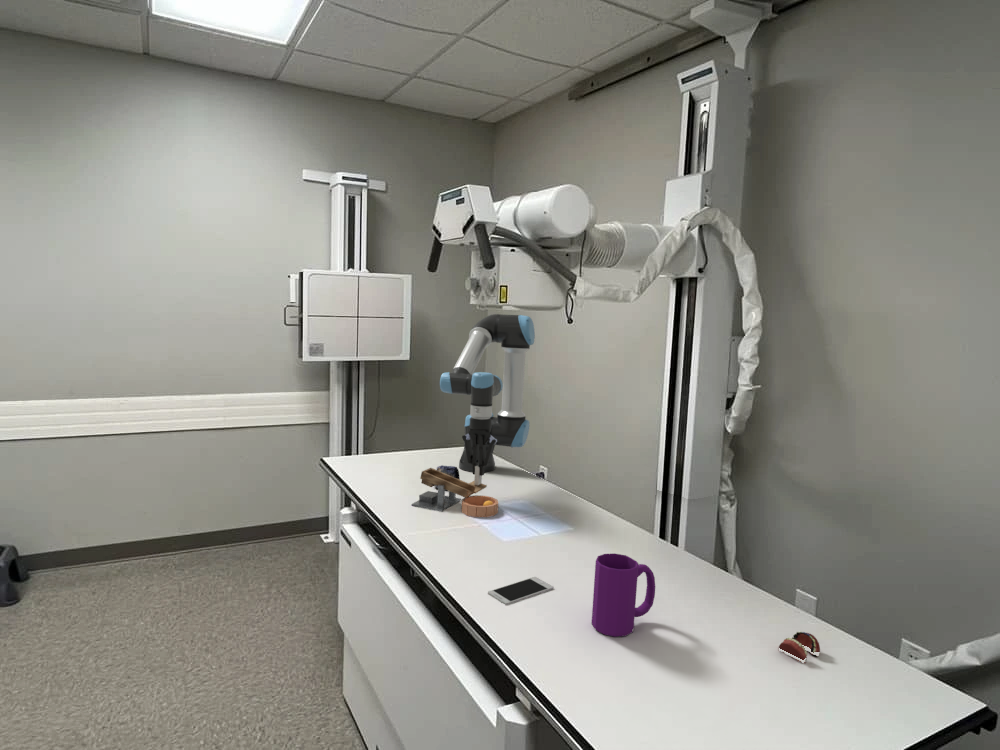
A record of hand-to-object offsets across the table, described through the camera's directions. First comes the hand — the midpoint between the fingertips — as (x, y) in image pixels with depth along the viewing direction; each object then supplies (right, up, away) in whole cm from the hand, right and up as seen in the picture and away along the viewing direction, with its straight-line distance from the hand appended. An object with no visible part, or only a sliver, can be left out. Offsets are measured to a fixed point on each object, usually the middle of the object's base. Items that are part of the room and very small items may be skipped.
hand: (477, 483), depth 220 cm
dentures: (+69, -20, -89) cm, 115 cm away
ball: (+4, -5, -11) cm, 13 cm away
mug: (+35, -17, -81) cm, 90 cm away
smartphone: (+13, -15, -67) cm, 70 cm away
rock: (-13, -4, +16) cm, 21 cm away
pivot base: (-14, -6, -4) cm, 16 cm away
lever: (-9, -1, -2) cm, 9 cm away
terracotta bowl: (+1, -7, -10) cm, 12 cm away
